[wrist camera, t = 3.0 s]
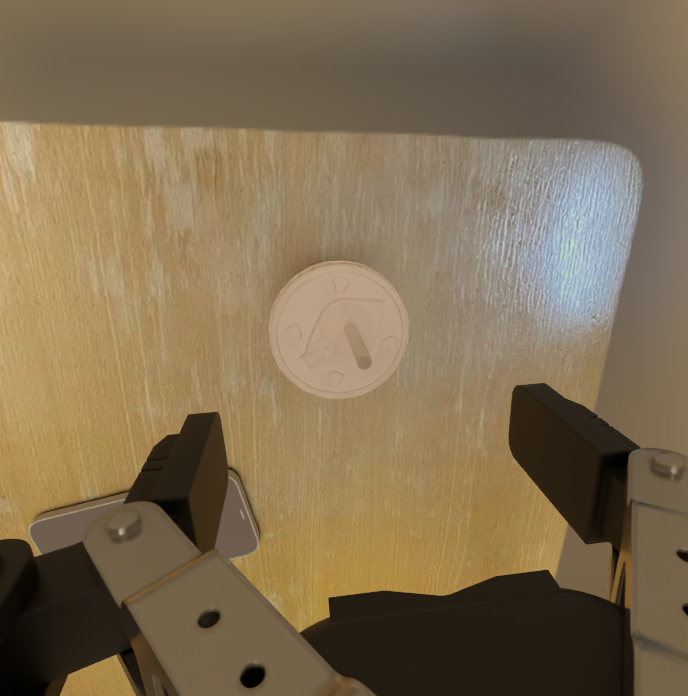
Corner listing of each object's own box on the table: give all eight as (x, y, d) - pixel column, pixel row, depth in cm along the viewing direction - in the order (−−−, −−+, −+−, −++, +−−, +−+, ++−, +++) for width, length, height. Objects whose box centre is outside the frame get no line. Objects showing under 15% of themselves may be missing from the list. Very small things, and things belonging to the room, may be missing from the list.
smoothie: (394, 296, 30) (474, 379, 17) (320, 356, 31) (339, 481, 17) (332, 217, 28) (367, 242, 15) (254, 284, 29) (220, 365, 15)
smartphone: (21, 523, 31) (232, 471, 32) (29, 514, 32) (234, 463, 32) (67, 601, 34) (263, 552, 34) (73, 590, 35) (264, 543, 35)
